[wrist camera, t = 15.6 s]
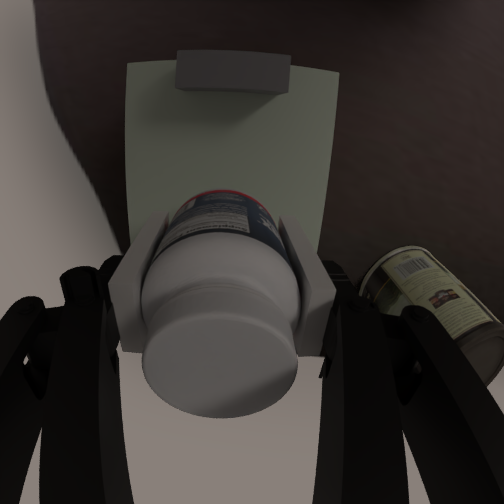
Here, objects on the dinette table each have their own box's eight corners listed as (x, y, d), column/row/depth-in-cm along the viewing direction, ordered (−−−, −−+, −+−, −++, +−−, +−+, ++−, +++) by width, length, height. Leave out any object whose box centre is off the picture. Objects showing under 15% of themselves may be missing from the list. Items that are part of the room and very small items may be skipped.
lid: (131, 64, 14) (108, 56, 11) (334, 73, 15) (360, 67, 12) (139, 288, 21) (125, 322, 17) (305, 293, 22) (318, 327, 18)
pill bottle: (281, 276, 17) (321, 418, 9) (184, 290, 17) (159, 435, 9) (269, 177, 14) (322, 273, 6) (159, 195, 14) (84, 307, 6)
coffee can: (384, 338, 35) (432, 430, 22) (339, 290, 31) (395, 399, 18) (448, 284, 32) (517, 361, 19) (416, 225, 28) (507, 304, 16)
